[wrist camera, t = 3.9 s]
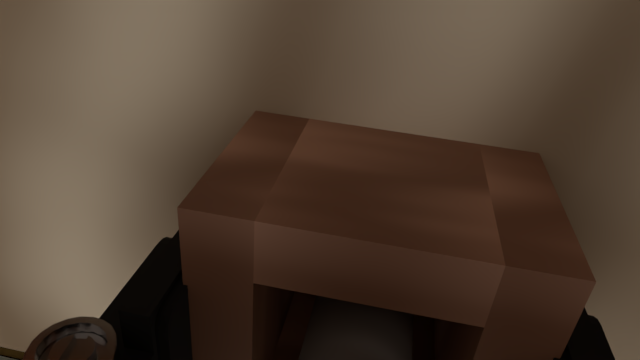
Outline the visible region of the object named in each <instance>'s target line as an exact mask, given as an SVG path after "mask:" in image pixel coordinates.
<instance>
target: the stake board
mask: <svg viewBox="0 0 640 360" xmlns="http://www.w3.org/2000/svg"><path fill="white" fill-rule="evenodd" d="M255 111H262V112H268V113H275V114H282V115H288V116H295V117H302V118H308V119H315V120H322V121H328V122H335V123H342V124H348V125H355V126H362V127H368V128H375V129H382V130H388V131H395V132H402V133H408V134H415V135H422V136H428V137H435V138H442V139H448V140H455V141H462V142H468V143H475V144H482V145H488V146H495V147H502V148H508V149H515V150H522V151H528V152H535V153H539V154H540V156H541V158H542V161H543V163H544V165H545V167H546V170H547V172H548V174H549V176H550V179H551V181H552V183H553V185H554V188H555V190H556V192H557V194H558V197H559V199H560V201H561V203H562V206H563V208H564V210H565V212H566V215H567V217H568V219H569V221H570V224H571V226H572V228H573V230H574V233H575V235H576V237H577V239H578V242H579V244H580V246H581V248H582V251H583V253H584V255H585V257H586V260H587V262H588V264H589V266H590V269H591V271H592V273H593V275H594V278H595V280H596V284H595V286H594V288H593V290H592V292H591V294H590V296H589V299H588V301H587V303H586V305H585V309H586V312H587V314H588V315H591V316H594V317H596V318H597V319H598V321H599V322H600V324H601V326H602V328H603V331H604V333H605V336H606V338H607V341H608V343H609V345H610V348H611V350H612V353H613V355H614V358H615V360H640V0H0V347H4V348H9V349H13V350H18V351H22V352H26V350H27V348H28V347H29V345H30V343H31V342H32V340H33V339H34V338H35V337H37V336H38V335H39V334H40V333H41V332H42V331H43V330H45V329H47V328H48V327H50V326H51V325H53V324H55V323H58V322H60V321H63V320H66V319H69V318H75V317H80V316H83V317H96V318H100V316H101V315H102V314H103V313H104V311H105V310H106V309H107V308H108V306H109V305H110V304H111V302H112V301H113V300H114V299H115V297H116V296H117V295H118V293H119V292H120V291H121V290H122V288H123V287H124V286H125V284H126V283H127V282H128V281H129V279H130V278H131V277H132V276H133V274H134V273H135V272H136V270H137V269H138V268H139V267H140V265H141V264H142V263H143V261H144V260H145V259H146V258H147V256H148V255H149V254H150V253H151V251H152V250H153V249H154V247H155V246H156V245H157V244H158V242H159V241H160V240H161V239H162V238H165V237H170V238H173V236H174V235H175V234H176V232H177V231H178V230H179V226H178V213H177V207H178V206H179V205H180V203H181V202H182V201H183V200H184V198H185V197H186V196H187V195H188V193H189V192H190V191H191V190H192V189H193V187H194V186H195V185H196V184H197V182H198V181H199V180H200V179H201V177H202V176H203V175H204V174H205V172H206V171H207V170H208V169H209V168H210V166H211V165H212V164H213V163H214V161H215V160H216V159H217V158H218V156H219V155H220V154H221V153H222V152H223V150H224V149H225V148H226V147H227V145H228V144H229V143H230V142H231V140H232V139H233V138H234V137H235V135H236V134H237V133H238V132H239V131H240V129H241V128H242V127H243V126H244V124H245V123H246V122H247V121H248V119H249V118H250V117H251V116H252V115H253V113H254V112H255ZM413 315H414V314H411V313H405V312H400V311H395V310H390V309H385V308H380V307H374V306H369V305H364V304H359V303H354V302H348V301H343V300H338V299H333V298H328V297H323V296H317V295H316V298H315V301H314V305H313V309H312V312H311V316H310V319H309V323H308V327H307V330H306V334H305V337H304V341H303V344H302V348H301V352H300V355H299V359H298V360H412V347H413Z"/></svg>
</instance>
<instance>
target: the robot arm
mask: <svg viewBox="0 0 640 360" xmlns="http://www.w3.org/2000/svg"><path fill="white" fill-rule="evenodd" d="M23 360H193V357H192V343H191V328H190V314H189V300H188V285H183V279H182V266H181V252H180V239H179V230H178V231H177V232H176V234H175V235H174V236H173V238H170V237H165V238H162V239H161V240H160V241H159V242H158V244H157V245H156V246H155V247H154V249H153V250H152V251H151V253H150V254H149V255H148V256H147V258H146V259H145V260H144V261H143V263H142V264H141V265H140V267H139V268H138V269H137V270H136V272H135V273H134V274H133V276H132V277H131V278H130V279H129V281H128V282H127V283H126V284H125V286H124V287H123V288H122V290H121V291H120V292H119V293H118V295H117V296H116V297H115V299H114V300H113V301H112V302H111V304H110V305H109V306H108V308H107V309H106V310H105V311H104V313H103V314H102V315H101V316H100V318H96V317H83V316H80V317H75V318H69V319H66V320H63V321H60V322H58V323H55V324H53V325H51V326H50V327H48V328H47V329H45V330H43V331H42V332H41V333H40V334H39V335H38V336H37V337H35V338H34V339H33V340H32V342H31V343H30V345H29V347H28V348H27V350H26V352H25V354H24V357H23ZM553 360H615V358H614V355H613V353H612V350H611V348H610V345H609V343H608V341H607V338H606V336H605V333H604V331H603V328H602V326H601V324H600V322H599V321H598V319H597V318H596V317H594V316H591V315H588V314H587V312H586V309H585V307H584V309H583V311H582V313H581V316H580V318H579V320H578V322H577V324H576V326H575V328H574V330H573V332H572V335H571V337H570V339H569V341H568V343H567V345H566V347H565V349H564V351H563V354H562V356H561V358H560V359H559V358H554V359H553Z"/></svg>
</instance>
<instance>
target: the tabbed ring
mask: <svg viewBox="0 0 640 360" xmlns="http://www.w3.org/2000/svg"><path fill="white" fill-rule="evenodd" d="M177 213H178V226H179V239H180V252H181V266H182V279H183V285H188V300H189V314H190V328H191V343H192V357H193V360H298V359H299V355H300V352H301V348H302V344H303V341H304V337H305V334H306V330H307V327H308V323H309V319H310V316H311V312H312V309H313V305H314V301H315V298H316V295H317V296H323V297H328V298H333V299H338V300H343V301H348V302H354V303H359V304H364V305H369V306H374V307H380V308H385V309H390V310H395V311H400V312H405V313H411V314H414V315H413V347H412V360H553V359H554V358H559V359H560V358H561V356H562V354H563V351H564V349H565V347H566V345H567V343H568V341H569V339H570V337H571V335H572V332H573V330H574V328H575V326H576V324H577V322H578V320H579V318H580V316H581V313H582V311H583V309H584V307H585V305H586V303H587V301H588V299H589V296H590V294H591V292H592V290H593V288H594V286H595V284H596V280H595V278H594V275H593V273H592V271H591V269H590V266H589V264H588V262H587V260H586V257H585V255H584V253H583V251H582V248H581V246H580V244H579V242H578V239H577V237H576V235H575V233H574V230H573V228H572V226H571V224H570V221H569V219H568V217H567V215H566V212H565V210H564V208H563V206H562V203H561V201H560V199H559V197H558V194H557V192H556V190H555V188H554V185H553V183H552V181H551V179H550V176H549V174H548V172H547V170H546V167H545V165H544V163H543V161H542V158H541V156H540V154H539V153H535V152H528V151H522V150H515V149H508V148H502V147H495V146H488V145H482V144H475V143H468V142H462V141H455V140H448V139H442V138H435V137H428V136H422V135H415V134H408V133H402V132H395V131H388V130H382V129H375V128H368V127H362V126H355V125H348V124H342V123H335V122H328V121H322V120H315V119H308V118H302V117H295V116H288V115H282V114H275V113H268V112H262V111H255V112H254V113H253V115H252V116H251V117H250V118H249V119H248V121H247V122H246V123H245V124H244V126H243V127H242V128H241V129H240V131H239V132H238V133H237V134H236V135H235V137H234V138H233V139H232V140H231V142H230V143H229V144H228V145H227V147H226V148H225V149H224V150H223V152H222V153H221V154H220V155H219V156H218V158H217V159H216V160H215V161H214V163H213V164H212V165H211V166H210V168H209V169H208V170H207V171H206V172H205V174H204V175H203V176H202V177H201V179H200V180H199V181H198V182H197V184H196V185H195V186H194V187H193V189H192V190H191V191H190V192H189V193H188V195H187V196H186V197H185V198H184V200H183V201H182V202H181V203H180V205H179V206H178V207H177Z"/></svg>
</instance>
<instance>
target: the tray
mask: <svg viewBox="0 0 640 360" xmlns="http://www.w3.org/2000/svg"><path fill="white" fill-rule="evenodd" d="M0 360H17V359H12V358H8V357H4V356H0Z"/></svg>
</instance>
